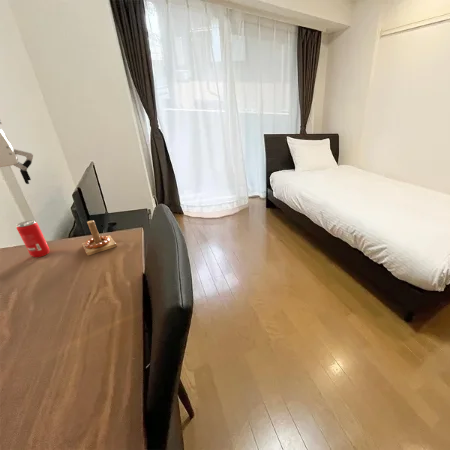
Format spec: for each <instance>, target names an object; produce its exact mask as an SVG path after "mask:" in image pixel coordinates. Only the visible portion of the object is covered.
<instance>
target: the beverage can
mask: <svg viewBox="0 0 450 450" xmlns="http://www.w3.org/2000/svg"><path fill="white" fill-rule="evenodd" d="M16 231H17V232H18V234H19V236H20V238H21V240H22V242H23V244H24V246H25V247H26V250H27V252H28V254H29V256H31V257H33V258H42V257H44V256H47V255H48V254H50V247H49V244H48V243H47V240H46V239H45V236H44V234H43V232H42V230H41V228H40V226H39V224H38V222H36V220H25V221H21V222H19V223H17V224H16Z"/></svg>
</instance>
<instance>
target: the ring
mask: <svg viewBox="0 0 450 450" xmlns="http://www.w3.org/2000/svg"><path fill="white" fill-rule="evenodd" d="M99 236H100V238H101V240H105V241H103V242H101V243H98V244H93V245H91V244H90V243H92V242H94V239H93V237H91V238H90V239H87V240H86V241H85V242H84V243H85V244H84V245H85V247H86V248H90V249H92V248H99V247H102V246H104V245H106V244H108V243H109V241H110V239H109V237H107V236H108V235H99Z"/></svg>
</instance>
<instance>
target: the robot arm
mask: <svg viewBox="0 0 450 450" xmlns="http://www.w3.org/2000/svg"><path fill="white" fill-rule="evenodd" d="M0 125H3V122H2V120H1V119H0ZM18 156H22V157H25V160H24V162H23V163H22V162H20V161H19V158H18ZM33 158H34V154H33V153H32V152H28V151H24V150H19V149H16V148H14V147H13V145H12V144H11V142H10V140H9V139H8V137H7V135H6V134H5V132H4V131H3V128H0V168H3V167H4V168H5V167H11V166H14V167H15V168H17V169H19V171H20V174H21V176H22V178H23V181H24V183H25V184H26V185H29V184H30V182H29V181H31V180H32V178H31V176H30V174H29V172H28V169H29V167H30V166H31V165H32V163H33Z"/></svg>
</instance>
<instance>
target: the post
mask: <svg viewBox="0 0 450 450" xmlns="http://www.w3.org/2000/svg"><path fill="white" fill-rule="evenodd" d="M86 223H87V225H88V229H89V231H90V233H91V236H92V238H93V239H94V242H92V243H90V244H91V245H93V244H98V243H101V242H103V241H105V240H101V238H100V236H101V235H100V233H99V230H98V228H97V225H96V222H95V220H88V221H86ZM106 236H107V237H109V239H110V241H109V243H108V244H106V245H104V246H102V247H99V248H92V249H90V248H86V247H85V245H84V244H85V242H82V243H81V245H82V247H83V249H84V251H85V253H86V256H91V255H94V254H97V253H100V252H103V251H107V250H111V249H114V248H117V247H118V245H117V243H116V242H115V240H114V239H113V238H112V236H111V235H110V234H109V235H106Z"/></svg>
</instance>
